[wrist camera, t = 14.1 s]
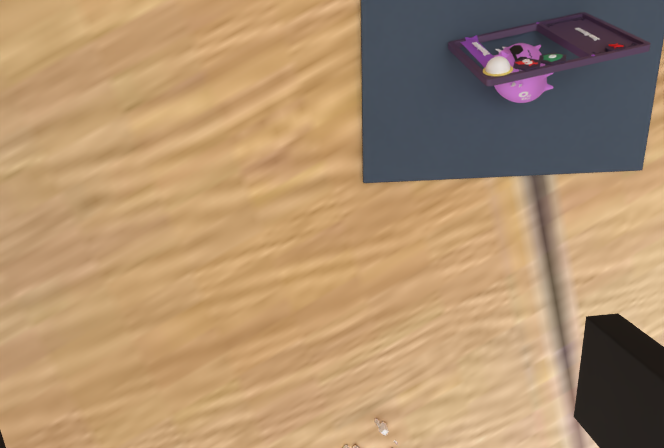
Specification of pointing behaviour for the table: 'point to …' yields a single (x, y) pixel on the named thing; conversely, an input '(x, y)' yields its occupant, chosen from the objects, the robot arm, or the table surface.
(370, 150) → the mat
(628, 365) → the robot arm
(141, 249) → the table surface
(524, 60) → the game card
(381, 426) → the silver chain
